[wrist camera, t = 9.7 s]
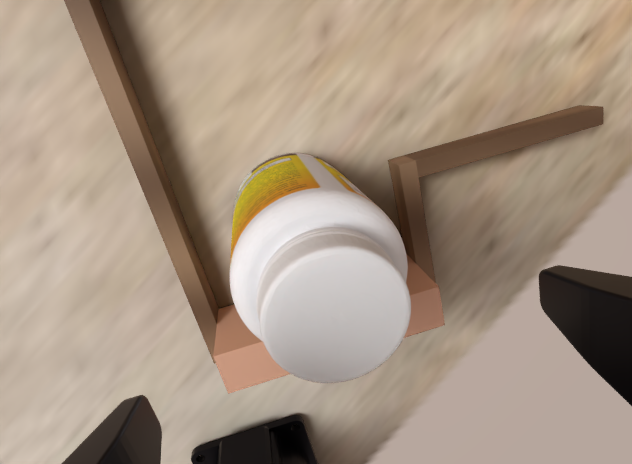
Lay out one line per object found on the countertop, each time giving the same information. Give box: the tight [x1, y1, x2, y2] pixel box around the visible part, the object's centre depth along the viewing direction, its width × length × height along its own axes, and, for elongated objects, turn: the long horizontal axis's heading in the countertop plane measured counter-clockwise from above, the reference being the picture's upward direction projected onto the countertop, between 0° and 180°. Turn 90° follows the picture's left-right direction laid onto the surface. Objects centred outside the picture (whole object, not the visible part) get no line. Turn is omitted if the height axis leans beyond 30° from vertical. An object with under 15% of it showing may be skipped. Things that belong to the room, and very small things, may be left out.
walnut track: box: [64, 0, 603, 363], centre depth 19 cm, size 18×21×2 cm
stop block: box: [213, 254, 445, 393], centre depth 20 cm, size 2×10×4 cm, turn 104°
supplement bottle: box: [230, 153, 411, 383], centre depth 15 cm, size 6×6×10 cm
